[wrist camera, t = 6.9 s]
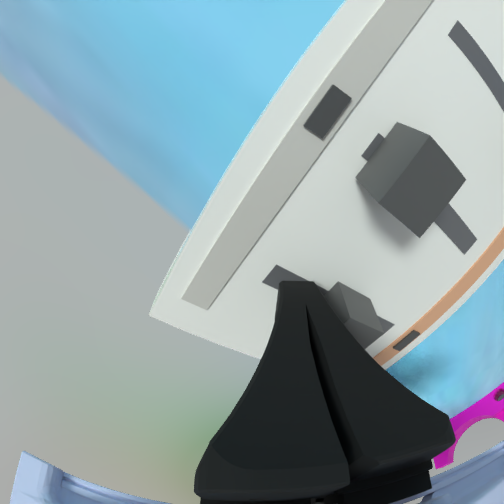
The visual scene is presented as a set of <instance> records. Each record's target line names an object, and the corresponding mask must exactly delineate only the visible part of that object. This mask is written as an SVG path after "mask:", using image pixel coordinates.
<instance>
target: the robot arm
mask: <svg viewBox="0 0 504 504" xmlns="http://www.w3.org/2000/svg"><path fill="white" fill-rule="evenodd" d="M455 441H456V438H455V434H454V431H453V428H452V425H451V422H450V419H449V417H448V415H446V414H445V413H443V412H441V411H440V410H438V409H436V408H435V407H433V406H432V405H430V404H428V403H427V402H425V401H424V400H422V399H421V398H419V397H418V396H417V395H415V394H414V393H412V392H411V391H410V390H408V389H407V388H406V387H404V386H403V385H402V384H401V383H400V382H398V381H397V380H396V379H395V378H394V377H393V376H391V375H390V374H389V373H388V372H387V371H386V370H384V369H383V368H382V367H381V366H380V365H379V364H378V363H377V362H376V361H375V360H374V359H373V358H372V357H371V356H370V355H369V354H368V352H367V351H366V350H365V349H364V348H363V347H362V346H361V345H360V344H359V342H358V341H357V340H356V339H355V338H354V336H353V335H352V334H351V333H350V332H349V330H348V329H347V328H346V326H345V325H344V324H343V322H342V321H341V320H340V318H339V317H338V316H337V314H336V313H335V312H334V310H333V309H332V307H331V306H330V305H329V303H328V302H327V300H326V299H325V297H324V296H323V294H322V293H321V291H320V290H319V288H318V287H317V285H316V284H315V282H314V281H281V282H280V283H279V287H278V295H277V303H276V311H275V322H274V326H273V329H272V332H271V335H270V338H269V341H268V344H267V346H266V349H265V351H264V353H263V356H262V358H261V360H260V363H259V365H258V367H257V369H256V371H255V373H254V375H253V377H252V379H251V381H250V383H249V384H248V386H247V388H246V390H245V391H244V393H243V395H242V397H241V398H240V400H239V401H238V403H237V404H236V406H235V408H234V409H233V411H232V412H231V414H230V416H229V417H228V418H227V420H226V421H225V422H224V424H223V425H222V426H221V428H220V429H219V430H218V432H217V433H216V434H215V435H214V437H213V438H212V439H211V441H210V443H209V445H208V447H207V449H206V451H205V453H204V455H203V457H202V459H201V461H200V463H199V465H198V467H197V470H196V474H195V482H194V492H195V493H196V495H198V496H199V497H201V501H200V504H403V503H406V502H409V501H412V500H415V499H417V498H420V497H422V496H424V497H423V499H422V501H421V502H420V503H418V504H504V441H502V442H500V443H499V444H497V445H496V446H494V447H492V448H491V449H489V450H487V451H486V452H484V453H482V454H480V455H478V456H476V457H474V458H473V459H470V460H468V461H466V462H464V463H462V464H460V465H458V466H456V467H454V468H452V469H450V470H447V471H445V472H443V473H440V474H438V475H436V476H433V477H431V478H430V475H429V471H428V470H430V469H432V467H433V466H432V462H431V459H432V458H434V457H436V456H437V455H439V454H441V453H442V452H444V451H445V450H447V449H448V448H450V447H451V446H452V445H453V444H454V443H455ZM10 504H170V503H165V502H160V501H155V500H150V499H145V498H141V497H137V496H133V495H129V494H125V493H122V492H118V491H115V490H112V489H109V488H105V487H102V486H99V485H96V484H94V483H90V482H88V481H85V480H82V479H80V478H77V477H75V476H73V475H70V474H68V473H65V472H63V471H62V470H61V469H59V468H57V467H55V466H53V465H51V464H49V463H47V462H45V461H43V460H41V459H39V458H37V457H35V456H33V455H31V454H29V453H27V452H26V451H22V454H21V457H20V461H19V465H18V469H17V472H16V477H15V481H14V485H13V490H12V494H11V500H10Z"/></svg>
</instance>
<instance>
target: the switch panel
mask: <svg viewBox="0 0 504 504" xmlns="http://www.w3.org/2000/svg"><path fill="white" fill-rule="evenodd" d="M396 122H399V123H402V124H404V125H407V126H409V127H412V128H414V129H417V130H419V131H421V132H424V133H426V134H428V135H430V136H431V137H432V138H433V139H434V140H435V141H436V142H437V144H438V145H439V146H440V147H441V148H442V149H443V151H444V152H445V153H446V154H447V155H448V157H449V158H450V159H451V160H452V162H453V163H454V164H455V165H456V167H457V168H458V169H459V171H460V172H461V173H462V175H463V176H464V177H465V179H466V181H465V182H464V184H463V185H462V186H461V188H460V189H459V190H458V192H457V193H456V194H455V196H454V197H453V198H452V199H451V201H450V202H449V203H448V205H447V206H446V207H445V208H444V210H443V211H442V212H441V213H440V215H439V216H438V217H437V218H436V219H435V221H434V222H433V223H432V224H431V226H430V227H429V228H428V229H427V230H426V231H425V233H424V234H423V235H422V236H421V237H420V238H419V237H418V236H416V235H415V234H414V233H413V232H412V231H411V230H410V229H408V228H407V227H406V226H405V225H404V224H403V223H402V222H400V221H399V220H398V219H397V218H396V217H394V216H393V215H392V214H391V213H390V212H388V211H387V210H386V209H385V208H384V207H382V206H381V205H380V204H379V203H378V202H377V201H376V200H375V199H374V198H373V197H372V196H371V194H370V193H369V192H368V191H367V190H366V189H365V188H364V187H363V186H362V185H361V183H360V182H359V181H358V180H357V179H356V178H355V177H356V176H357V174H358V173H359V172H360V170H361V169H362V168H363V167H364V165H365V164H366V163H367V161H368V160H369V159H370V157H371V156H372V155H373V153H374V152H375V151H376V149H377V148H378V147H379V145H380V144H381V143H382V141H383V140H384V139H385V137H386V136H387V135H388V133H389V132H390V131H391V129H392V128H393V126H394V125H395V124H396ZM503 259H504V0H345V1H344V2H343V3H342V5H341V6H340V7H339V8H338V9H337V11H336V12H335V13H334V14H333V16H332V17H331V18H330V19H329V21H328V22H327V23H326V24H325V26H324V27H323V28H322V30H321V31H320V32H319V33H318V35H317V36H316V37H315V39H314V40H313V41H312V43H311V44H310V45H309V47H308V48H307V49H306V51H305V52H304V53H303V55H302V56H301V58H300V59H299V60H298V62H297V63H296V64H295V66H294V67H293V69H292V70H291V71H290V73H289V74H288V76H287V77H286V78H285V80H284V81H283V83H282V84H281V86H280V87H279V89H278V90H277V91H276V93H275V94H274V96H273V97H272V99H271V100H270V102H269V103H268V105H267V106H266V108H265V109H264V111H263V112H262V114H261V115H260V117H259V118H258V120H257V121H256V123H255V124H254V126H253V128H252V129H251V131H250V132H249V134H248V135H247V137H246V138H245V140H244V142H243V143H242V145H241V146H240V148H239V150H238V151H237V153H236V154H235V156H234V158H233V159H232V161H231V163H230V164H229V166H228V167H227V169H226V171H225V172H224V174H223V176H222V177H221V179H220V181H219V183H218V184H217V186H216V188H215V189H214V191H213V193H212V194H211V196H210V198H209V200H208V201H207V203H206V205H205V207H204V208H203V210H202V212H201V214H200V215H199V217H198V219H197V221H196V223H195V224H194V226H193V228H192V230H191V231H190V230H189V232H188V234H187V236H186V238H185V240H184V242H183V243H182V245H181V247H180V249H179V251H178V253H177V255H176V257H175V259H174V261H173V263H172V264H171V266H170V268H169V270H168V272H167V274H166V276H165V278H164V280H163V282H162V284H161V286H160V288H159V291H158V292H157V294H156V297H155V300H154V302H153V305H152V308H151V311H150V314H149V316H151V317H153V318H156V319H158V320H160V321H162V322H165V323H167V324H170V325H172V326H174V327H176V328H179V329H181V330H184V331H186V332H188V333H191V334H193V335H196V336H198V337H201V338H203V339H206V340H208V341H211V342H214V343H216V344H219V345H221V346H224V347H227V348H230V349H232V350H236V351H238V352H241V353H244V354H246V355H249V356H252V357H255V358H258V359H261V358H262V356H263V353H264V351H265V349H266V346H267V344H268V341H269V338H270V335H271V332H272V329H273V326H274V322H275V311H276V303H277V295H278V287H279V283H280V282H281V281H314V282H315V284H316V285H317V287H318V288H319V290H320V291H321V293H322V294H323V296H324V295H325V294H326V293H327V292H328V291H329V290H330V289H331V288H332V287H333V286H334V285H335V284H336V283H337V282H338V281H339V282H340V283H342V284H344V285H346V286H348V287H350V288H351V289H353V290H355V291H357V292H359V293H361V294H362V295H364V296H366V297H368V298H370V299H371V302H372V304H373V307H374V309H375V311H376V314H377V316H378V319H379V321H380V324H381V326H382V329H383V331H384V334H383V335H382V336H381V337H379V338H378V339H377V340H376V341H374V342H373V343H372V344H371V345H370V346H368V347H367V348H366V349H365V350H366V351H367V352H368V354H369V355H370V356H371V357H372V358H373V359H374V360H375V361H376V362H377V363H378V364H379V365H380V366H381V367H382V368H383V369H384V370H386V369H387V368H389V367H390V366H391V365H393V364H394V363H395V362H397V361H398V360H399V359H401V358H402V357H403V356H405V355H406V354H407V353H408V352H410V351H411V350H412V349H413V348H415V347H416V346H417V345H418V344H420V343H421V342H422V341H423V340H424V339H425V338H427V337H428V336H429V335H430V334H431V333H432V332H434V331H435V330H436V329H437V328H438V327H439V326H440V325H441V324H443V323H444V322H445V321H446V320H447V319H448V318H449V317H450V316H451V315H452V314H453V313H454V312H455V311H456V310H457V309H458V308H459V307H460V306H461V305H462V304H463V303H464V302H465V301H466V300H467V299H468V298H469V297H470V296H471V295H472V294H473V293H474V292H475V291H476V290H477V289H478V288H479V287H480V286H481V285H482V284H483V282H484V281H485V280H486V279H487V278H488V277H489V276H490V275H491V273H492V272H493V271H494V270H495V269H496V268H497V266H498V265H499V264H500V263H501V262H502V260H503Z"/></svg>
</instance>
